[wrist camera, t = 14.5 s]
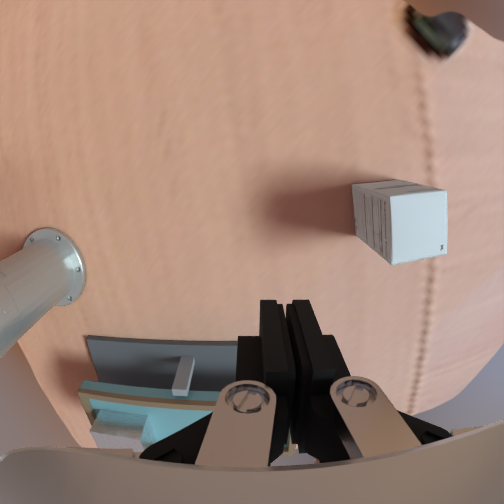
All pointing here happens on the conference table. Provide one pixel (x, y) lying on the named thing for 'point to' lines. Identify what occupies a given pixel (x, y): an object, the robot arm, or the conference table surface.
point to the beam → (153, 406)
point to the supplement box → (401, 219)
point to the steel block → (122, 431)
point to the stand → (164, 363)
